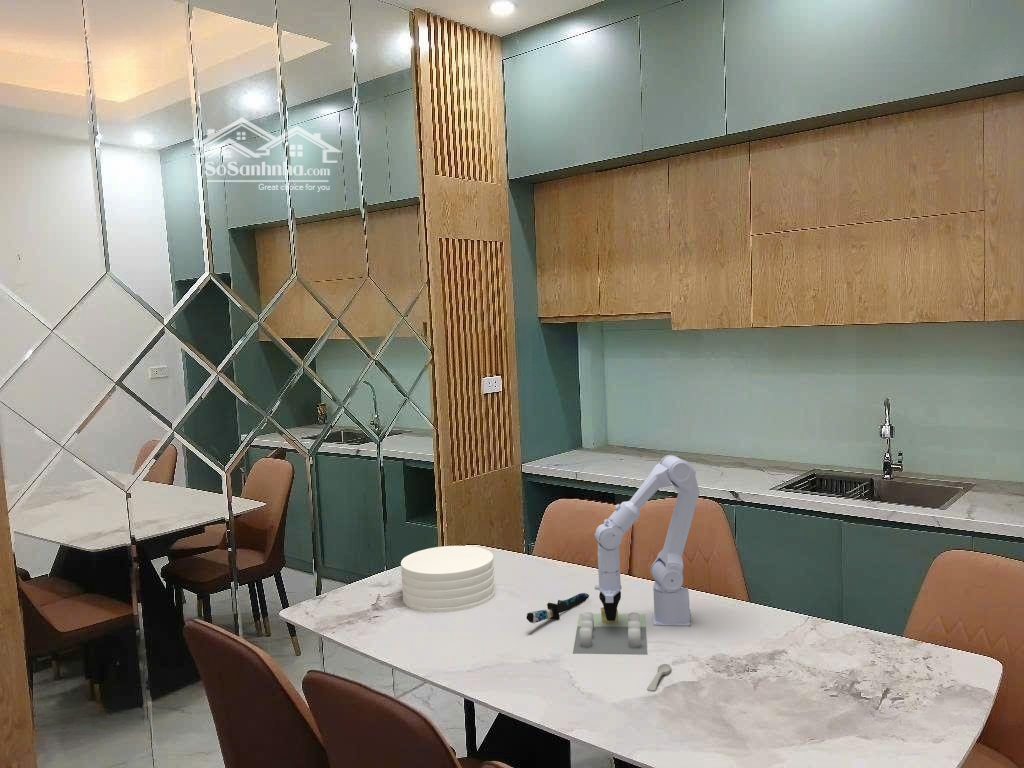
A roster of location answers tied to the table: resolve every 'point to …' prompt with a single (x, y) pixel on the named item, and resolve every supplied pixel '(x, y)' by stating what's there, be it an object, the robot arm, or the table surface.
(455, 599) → the plate stack
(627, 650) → the spacer board
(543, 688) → the table surface
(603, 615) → the nut
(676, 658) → the table surface
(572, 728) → the table surface
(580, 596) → the knife
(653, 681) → the spoon
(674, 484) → the robot arm
